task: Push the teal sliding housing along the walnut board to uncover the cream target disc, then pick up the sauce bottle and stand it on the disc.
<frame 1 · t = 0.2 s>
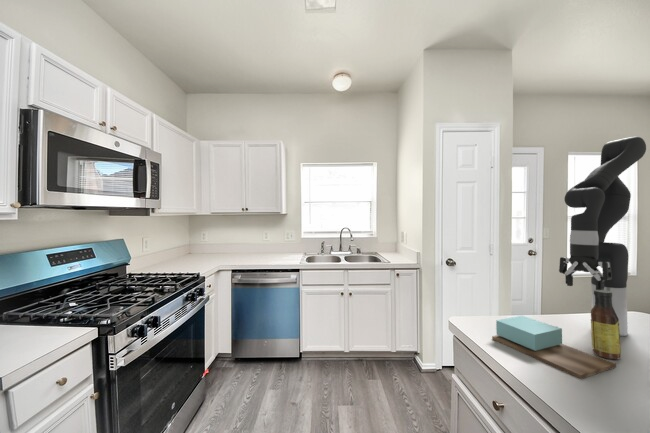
hand: (583, 288, 98), 17 cm above the worktop, tool pointing down, fingers open, 8 cm apart
sauce bottle: (605, 355, 85), on the worktop
walnut board: (547, 351, 88), on the worktop
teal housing: (527, 331, 94), point 4 cm above the worktop, slide at 0.0 cm
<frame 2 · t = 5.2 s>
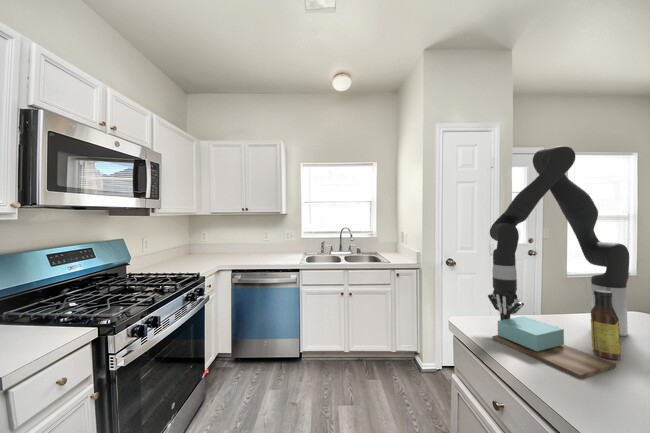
hand: (505, 323, 102), 4 cm above the worktop, tool pointing down, fingers closed
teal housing: (529, 332, 93), point 4 cm above the worktop, slide at 0.5 cm, touching gripper
everything else where it was.
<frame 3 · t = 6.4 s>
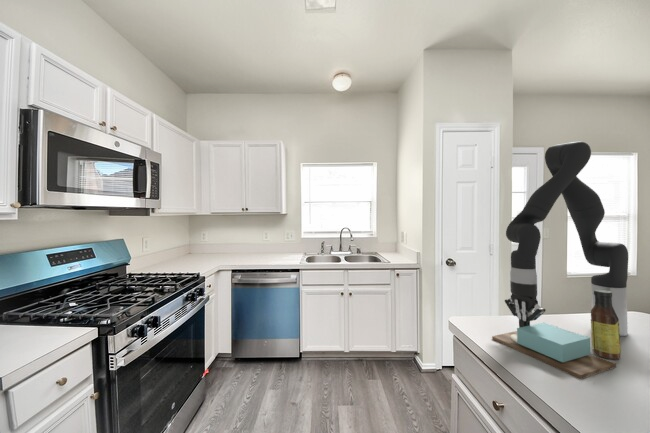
hand: (524, 330, 95), 4 cm above the worktop, tool pointing down, fingers closed
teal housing: (552, 340, 87), point 4 cm above the worktop, slide at 7.5 cm, touching gripper
everything else where it was.
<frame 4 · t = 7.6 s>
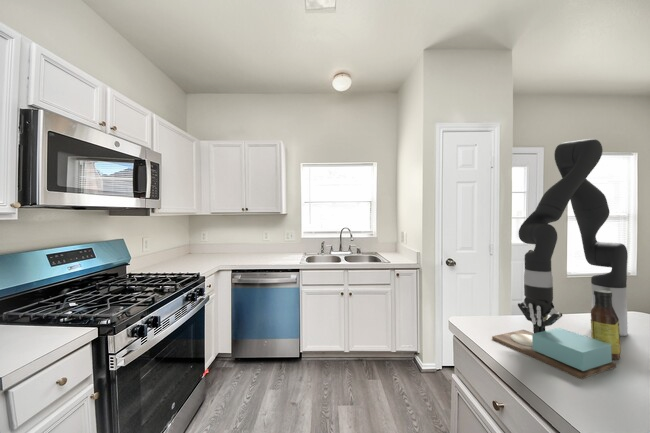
hand: (539, 336, 90), 4 cm above the worktop, tool pointing down, fingers closed
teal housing: (570, 347, 82), point 4 cm above the worktop, slide at 12.3 cm, touching gripper
everything else where it was.
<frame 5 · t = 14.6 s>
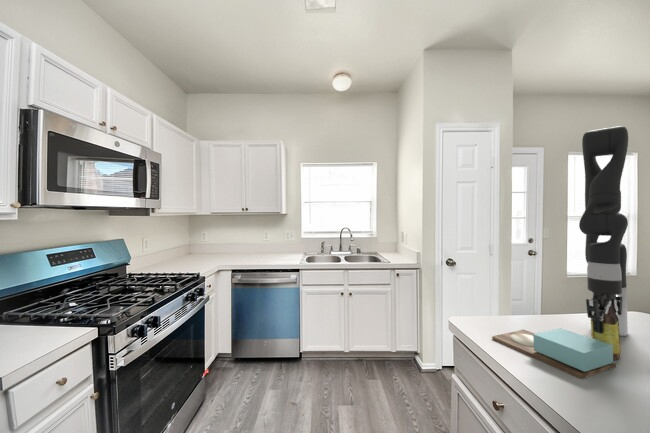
hand: (605, 330, 85), 8 cm above the worktop, tool pointing down, fingers closed on sauce bottle, 6 cm apart
sauce bottle: (605, 355, 85), on the worktop, touching gripper
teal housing: (571, 347, 82), point 4 cm above the worktop, slide at 12.6 cm
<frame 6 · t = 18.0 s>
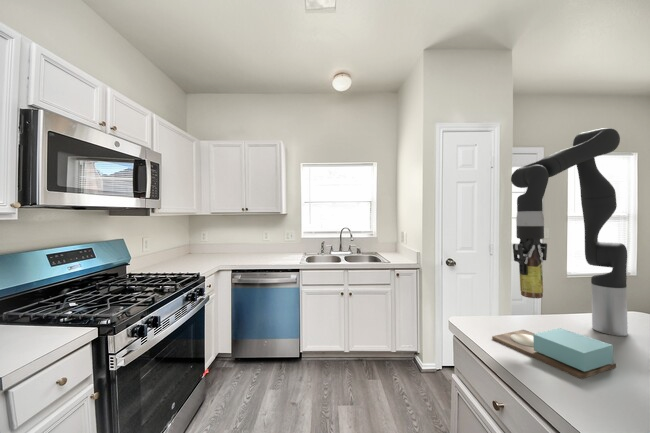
hand: (530, 273, 93), 24 cm above the worktop, tool pointing down, fingers closed on sauce bottle, 6 cm apart
sauce bottle: (531, 297, 93), point 16 cm above the worktop, touching gripper
everything else where it was.
when the fingers open (10 cm above the worktop, at t = 21.3 s): sauce bottle drops 1 cm, resting on walnut board.
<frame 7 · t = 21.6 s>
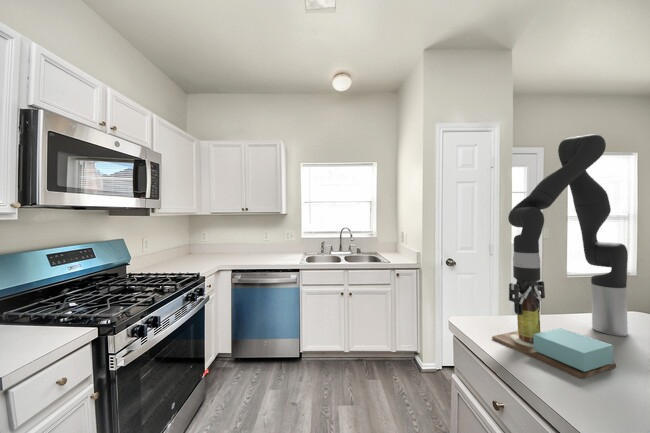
hand: (527, 312, 94), 11 cm above the worktop, tool pointing down, fingers open, 8 cm apart
sauce bottle: (528, 340, 94), point 1 cm above the worktop, touching walnut board
everything else where it was.
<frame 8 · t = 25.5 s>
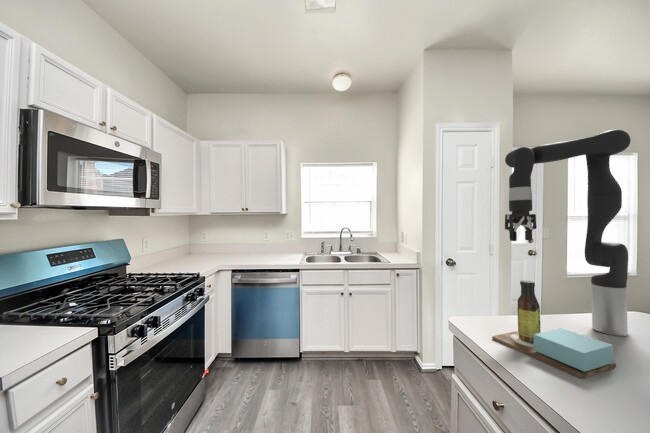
hand: (521, 240, 108), 34 cm above the worktop, tool pointing down, fingers open, 8 cm apart
nothing on the worktop moved.
at the end: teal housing slide at 12.6 cm; sauce bottle 0.3 cm from the target spot on the walnut board, point 1.1 cm above the walnut board's base; sauce bottle tilted 1° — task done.
